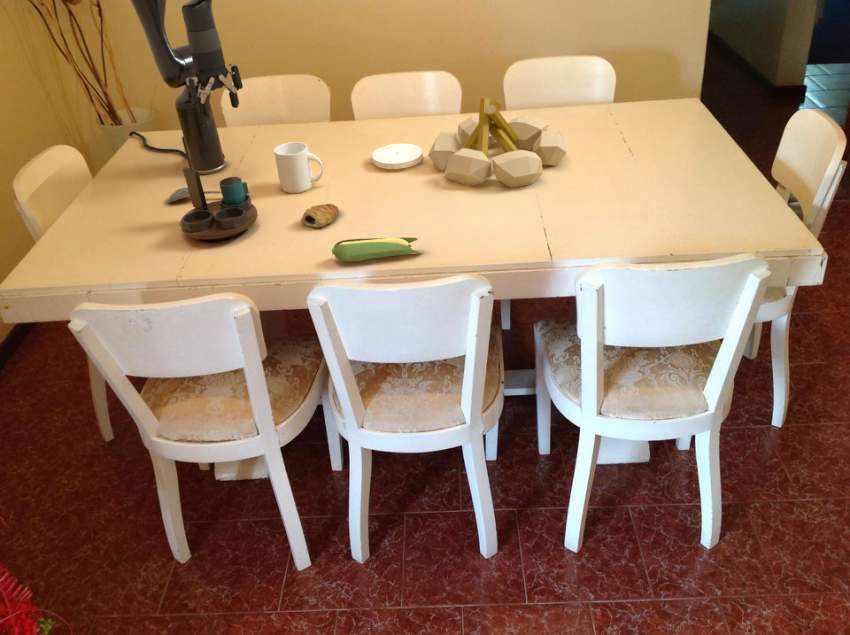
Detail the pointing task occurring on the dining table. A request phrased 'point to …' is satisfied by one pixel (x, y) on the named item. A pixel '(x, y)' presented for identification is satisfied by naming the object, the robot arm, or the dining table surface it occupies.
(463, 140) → the campfire
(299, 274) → the dining table surface
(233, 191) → the cup holder
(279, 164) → the mug
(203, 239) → the carousel base
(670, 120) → the dining table surface
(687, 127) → the dining table surface
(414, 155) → the plastic lid
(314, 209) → the pastry
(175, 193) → the soupspoon
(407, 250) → the edible corn
